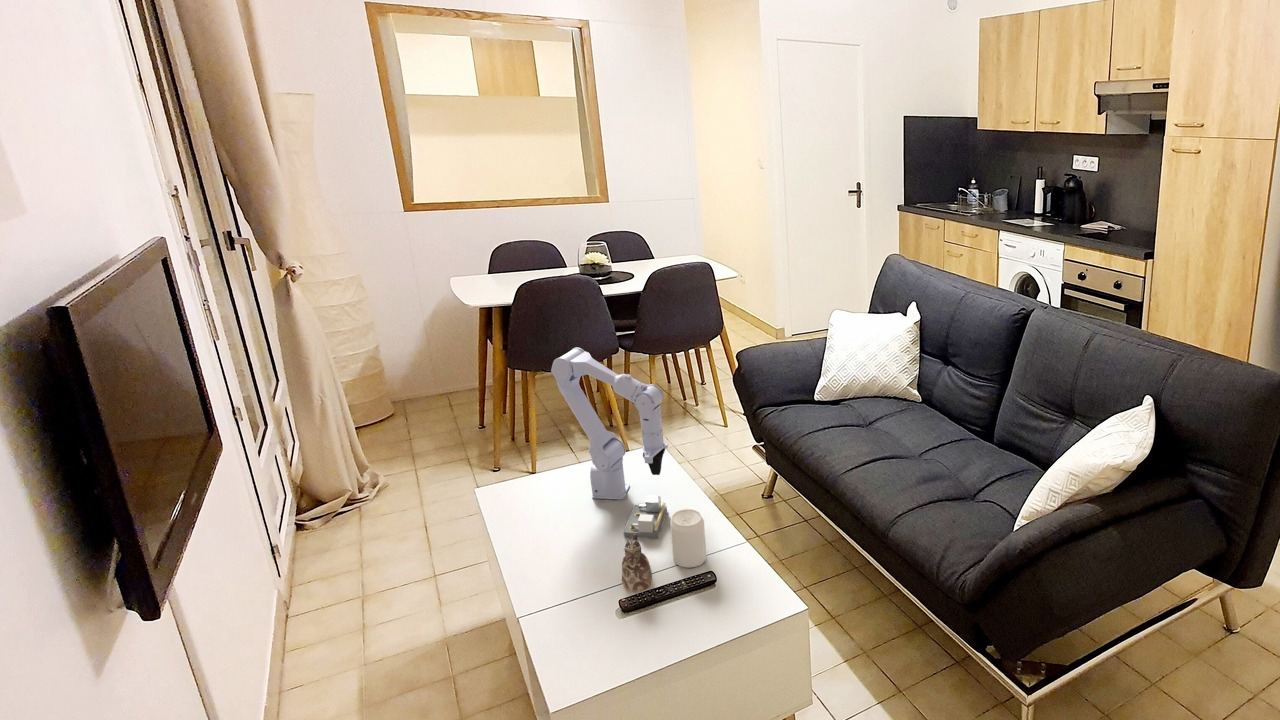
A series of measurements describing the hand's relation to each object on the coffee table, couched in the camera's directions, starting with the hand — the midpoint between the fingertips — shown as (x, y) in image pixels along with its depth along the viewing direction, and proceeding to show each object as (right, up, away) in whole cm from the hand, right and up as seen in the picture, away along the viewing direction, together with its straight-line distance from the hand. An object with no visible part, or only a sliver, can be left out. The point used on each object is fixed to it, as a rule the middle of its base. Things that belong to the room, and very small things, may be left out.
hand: (656, 473), depth 193 cm
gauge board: (-3, -12, -7) cm, 14 cm away
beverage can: (+8, -17, -22) cm, 30 cm away
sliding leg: (-2, -9, -3) cm, 10 cm away
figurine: (-5, -21, -29) cm, 36 cm away
